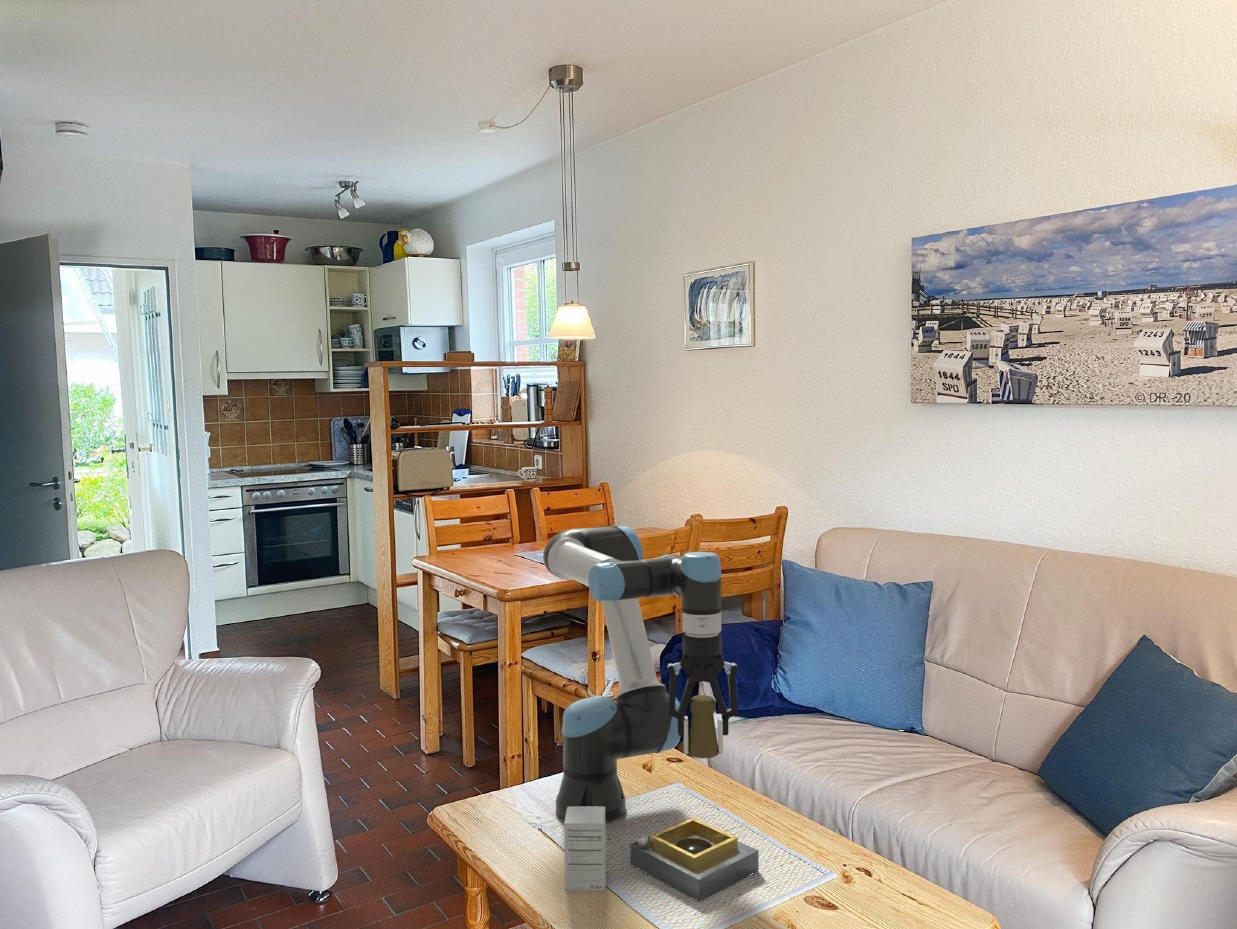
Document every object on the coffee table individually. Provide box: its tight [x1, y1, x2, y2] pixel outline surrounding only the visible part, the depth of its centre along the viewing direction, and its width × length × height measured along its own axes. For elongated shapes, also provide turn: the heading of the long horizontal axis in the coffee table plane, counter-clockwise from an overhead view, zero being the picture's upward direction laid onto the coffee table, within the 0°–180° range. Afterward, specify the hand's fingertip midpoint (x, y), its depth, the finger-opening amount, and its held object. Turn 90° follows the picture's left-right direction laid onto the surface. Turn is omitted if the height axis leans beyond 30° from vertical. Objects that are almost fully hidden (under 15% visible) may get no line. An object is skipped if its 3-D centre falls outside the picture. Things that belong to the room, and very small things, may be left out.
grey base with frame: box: [629, 817, 760, 903], centre depth 173 cm, size 18×16×6 cm
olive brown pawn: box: [687, 694, 720, 759], centre depth 178 cm, size 6×6×11 cm
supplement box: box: [563, 806, 607, 892], centre depth 168 cm, size 7×7×13 cm
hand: (703, 751), depth 178 cm, fingers closed on olive brown pawn, 6 cm apart
